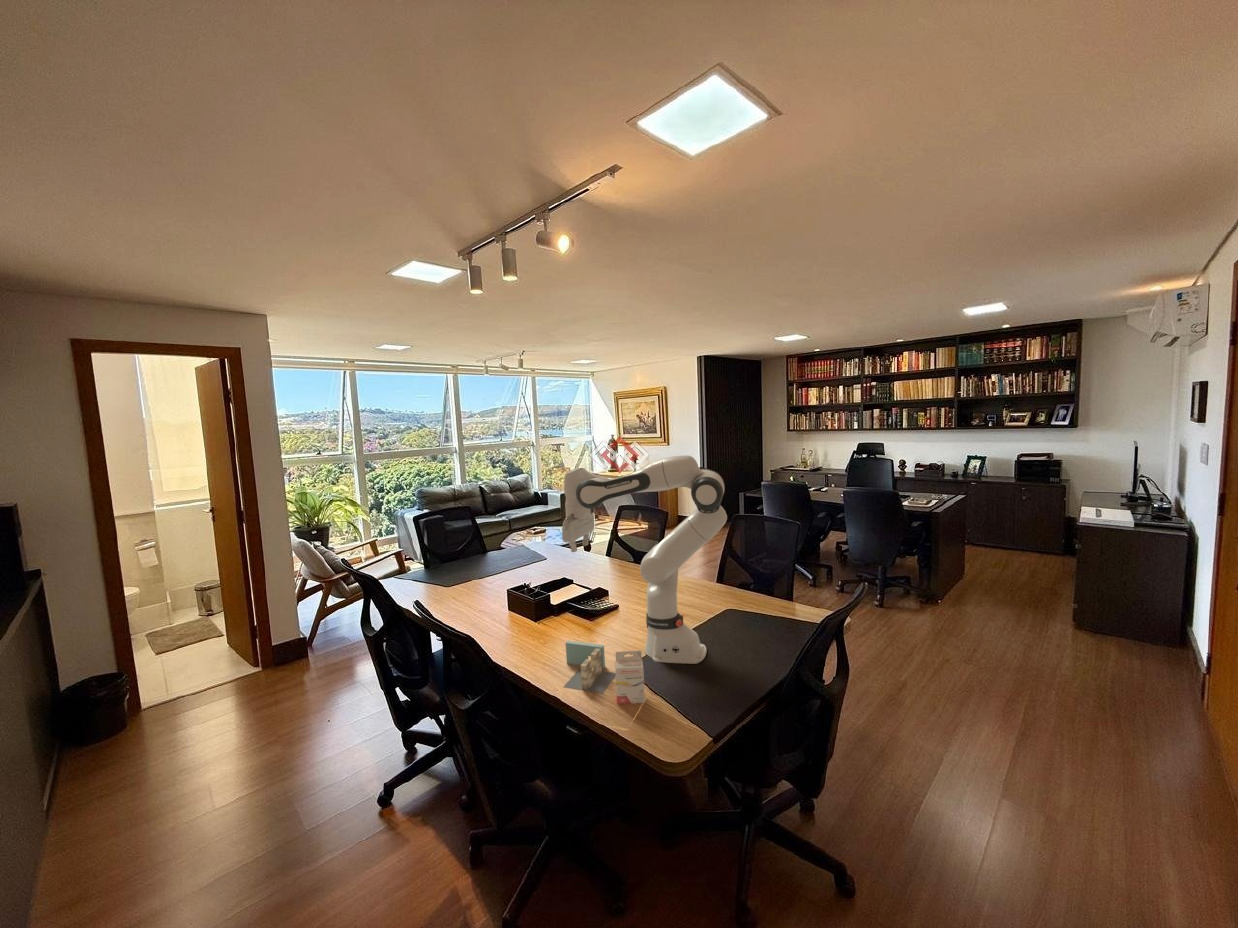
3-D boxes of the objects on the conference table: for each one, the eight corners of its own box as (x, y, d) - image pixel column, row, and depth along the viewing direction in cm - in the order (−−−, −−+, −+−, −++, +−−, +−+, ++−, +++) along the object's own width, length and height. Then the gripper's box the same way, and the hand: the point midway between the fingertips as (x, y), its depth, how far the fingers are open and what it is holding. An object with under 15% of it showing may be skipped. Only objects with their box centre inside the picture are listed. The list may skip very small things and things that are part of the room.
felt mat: (617, 674, 167) (617, 673, 167) (602, 694, 155) (602, 693, 155) (580, 668, 172) (580, 667, 172) (563, 688, 160) (562, 686, 160)
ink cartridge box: (617, 705, 149) (614, 658, 147) (616, 696, 154) (614, 651, 152) (645, 704, 149) (643, 657, 148) (644, 695, 154) (641, 649, 153)
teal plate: (605, 667, 172) (603, 645, 172) (603, 669, 171) (601, 647, 170) (569, 662, 178) (567, 640, 177) (566, 664, 176) (565, 642, 175)
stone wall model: (596, 670, 169) (595, 648, 169) (601, 671, 169) (600, 649, 168) (582, 689, 158) (580, 665, 157) (587, 689, 158) (585, 665, 157)
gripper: (572, 517, 173) (575, 556, 174) (596, 507, 192) (598, 542, 193) (556, 517, 175) (559, 555, 176) (581, 507, 194) (583, 541, 195)
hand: (579, 548), depth 185 cm, fingers open, 8 cm apart
